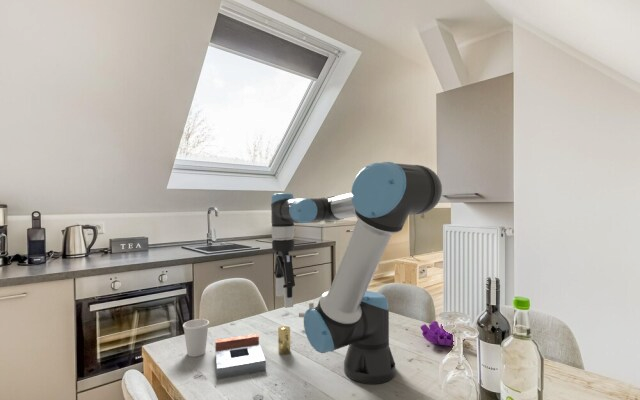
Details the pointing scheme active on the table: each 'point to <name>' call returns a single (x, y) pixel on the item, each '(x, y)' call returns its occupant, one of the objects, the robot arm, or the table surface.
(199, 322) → the dixie cup
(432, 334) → the pipe connector assembly
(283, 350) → the brass cylinder
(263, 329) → the table surface
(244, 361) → the jig
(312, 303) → the pipe connector
